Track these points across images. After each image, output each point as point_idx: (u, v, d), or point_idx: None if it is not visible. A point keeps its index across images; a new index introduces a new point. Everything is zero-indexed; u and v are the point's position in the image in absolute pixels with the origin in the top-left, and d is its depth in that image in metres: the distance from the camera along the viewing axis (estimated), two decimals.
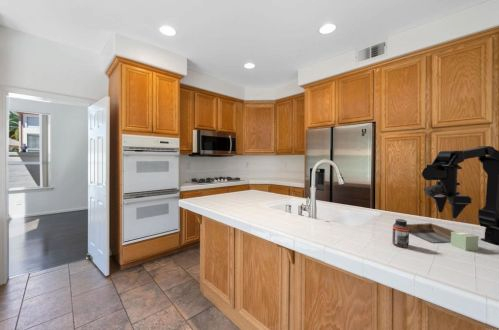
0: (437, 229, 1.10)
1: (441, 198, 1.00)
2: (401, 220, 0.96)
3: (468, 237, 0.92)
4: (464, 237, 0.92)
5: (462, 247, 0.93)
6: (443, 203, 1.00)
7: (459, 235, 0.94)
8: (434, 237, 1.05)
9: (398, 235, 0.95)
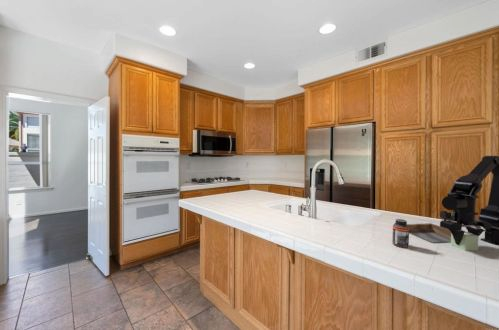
0: (437, 229, 1.10)
1: (473, 229, 0.95)
2: (401, 220, 0.96)
3: (468, 237, 0.92)
4: (464, 237, 0.92)
5: (462, 247, 0.93)
6: None
7: None
8: (434, 237, 1.05)
9: (398, 235, 0.95)
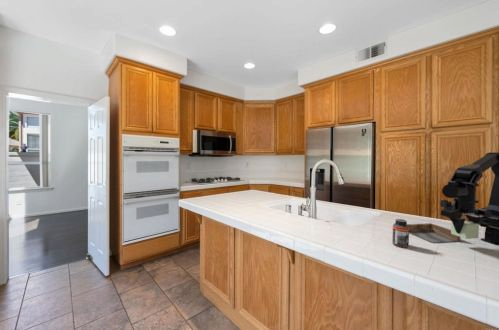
0: (437, 229, 1.10)
1: (473, 218, 0.94)
2: (401, 220, 0.96)
3: (469, 225, 0.91)
4: (465, 225, 0.92)
5: (463, 235, 0.93)
6: None
7: None
8: (434, 237, 1.05)
9: (398, 235, 0.95)
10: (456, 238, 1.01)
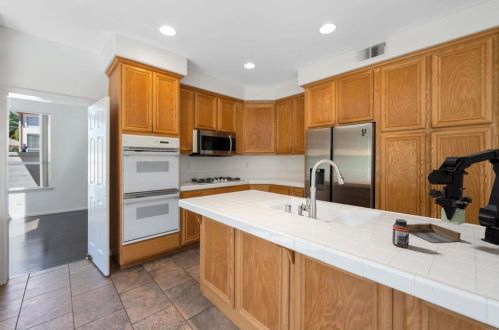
0: (437, 229, 1.10)
1: (458, 204, 0.99)
2: (401, 220, 0.96)
3: (459, 211, 0.95)
4: (456, 212, 0.95)
5: (454, 222, 0.96)
6: None
7: None
8: (434, 237, 1.05)
9: (398, 235, 0.95)
10: (456, 238, 1.01)
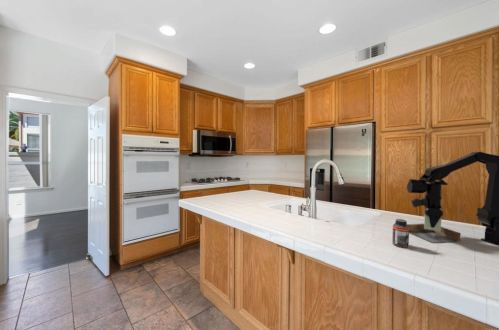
0: None
1: None
2: (401, 220, 0.96)
3: (440, 218, 1.03)
4: (439, 219, 1.02)
5: (437, 228, 1.03)
6: None
7: None
8: (434, 237, 1.05)
9: (398, 235, 0.95)
10: (456, 238, 1.01)
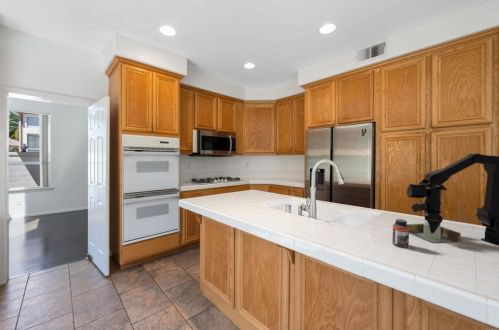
0: None
1: None
2: (401, 220, 0.96)
3: None
4: (439, 227, 1.02)
5: (437, 237, 1.03)
6: None
7: None
8: None
9: (398, 235, 0.95)
10: (456, 238, 1.01)
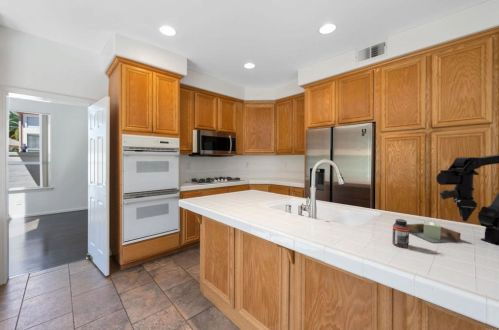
0: None
1: None
2: (401, 220, 0.96)
3: None
4: (439, 227, 1.02)
5: (437, 237, 1.03)
6: None
7: (433, 226, 1.04)
8: None
9: (398, 235, 0.95)
10: (456, 238, 1.01)
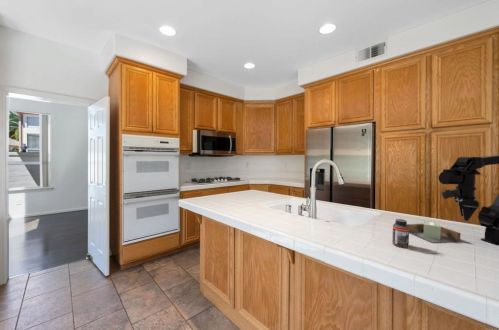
0: None
1: None
2: (401, 220, 0.96)
3: None
4: (439, 227, 1.02)
5: (437, 237, 1.03)
6: None
7: (433, 226, 1.04)
8: None
9: (398, 235, 0.95)
10: (456, 238, 1.01)
